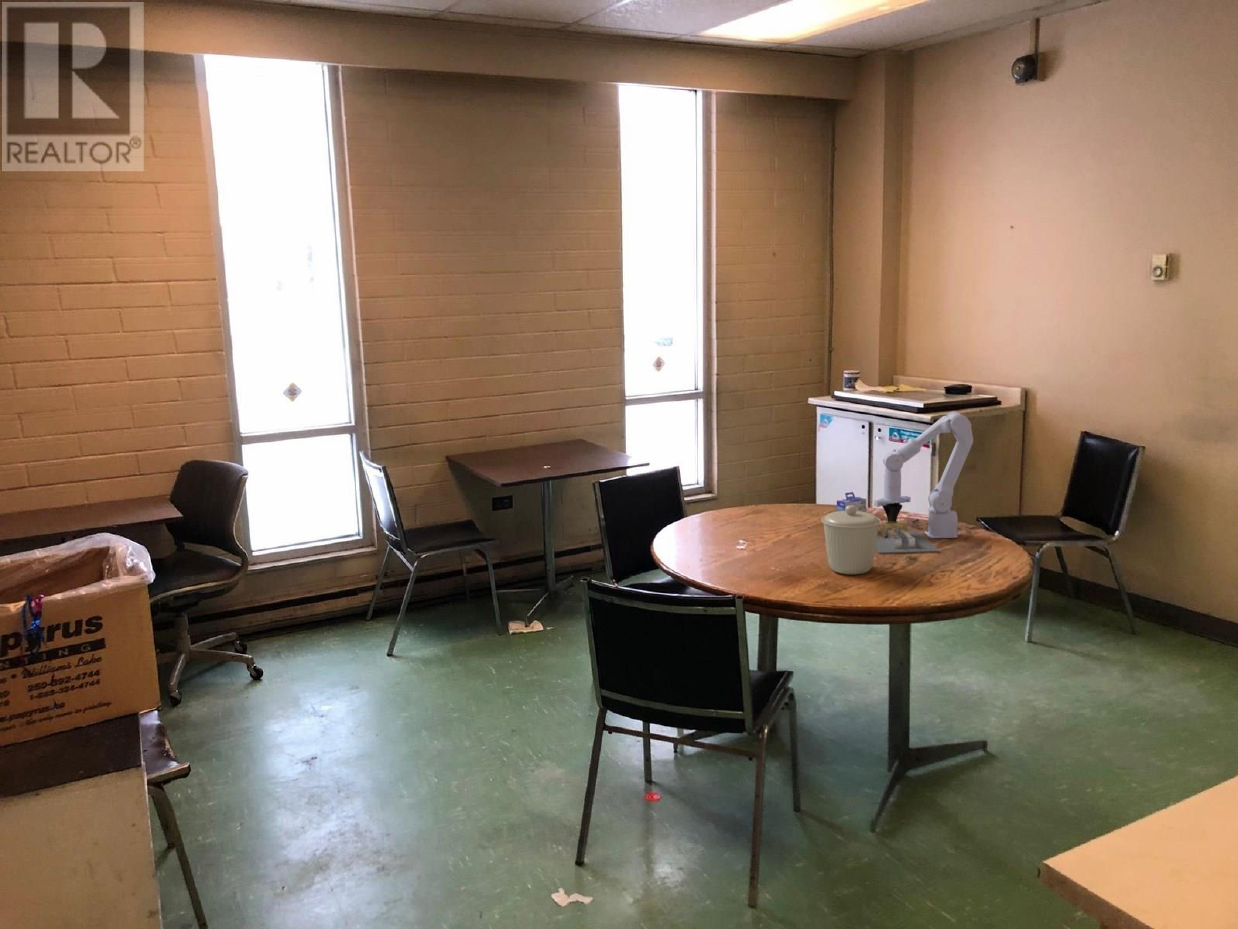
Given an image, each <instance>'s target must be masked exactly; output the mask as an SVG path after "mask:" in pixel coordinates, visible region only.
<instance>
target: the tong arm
mask: <svg viewBox="0 0 1238 929" xmlns="http://www.w3.org/2000/svg"><path fill="white" fill-rule="evenodd" d="M885 532H886V536H887V538H888V539H889V540H890V541H891V543H892V544H893V546H894V547H895V548H902V539H901V538H900V537H898V535H897V534H896V533H895V532H896V531H895V530H894V529H893V528H885Z"/></svg>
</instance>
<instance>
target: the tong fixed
mask: <svg viewBox="0 0 1238 929" xmlns="http://www.w3.org/2000/svg"><path fill="white" fill-rule="evenodd" d="M907 531H908V530H907ZM907 531H906V530H905V529H903V528H897V535H898V537H900V538H901V539H902V541H903V542H904V543H905V544H906V545H907V547H908V548H915V538H914V537H912V536H911V535H910V534H909V533H908V532H907Z"/></svg>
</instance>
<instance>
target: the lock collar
mask: <svg viewBox="0 0 1238 929" xmlns="http://www.w3.org/2000/svg"><path fill="white" fill-rule="evenodd" d="M886 528H892V529H895V528H897V529H898V528H903V529H905V530H906V531H908V522H907V521H906V520H896V521H888V520H887V521H886V520H885V521H882V520H881V523H880V532H881V536H882V537H883V538H885V532H886Z"/></svg>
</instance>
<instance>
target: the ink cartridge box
mask: <svg viewBox="0 0 1238 929" xmlns="http://www.w3.org/2000/svg"><path fill="white" fill-rule="evenodd" d="M844 495H845V499H838V500H836V512H838V511H845V508H846V507H847V506H848V505H854V506H855V507H856V508H857V511H861V512H866V513H867V499H866V498H863V497H860V496H855V493H854V492H853V491H850V492H845V493H844ZM849 495H850V496H849ZM851 495H852V496H851Z"/></svg>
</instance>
